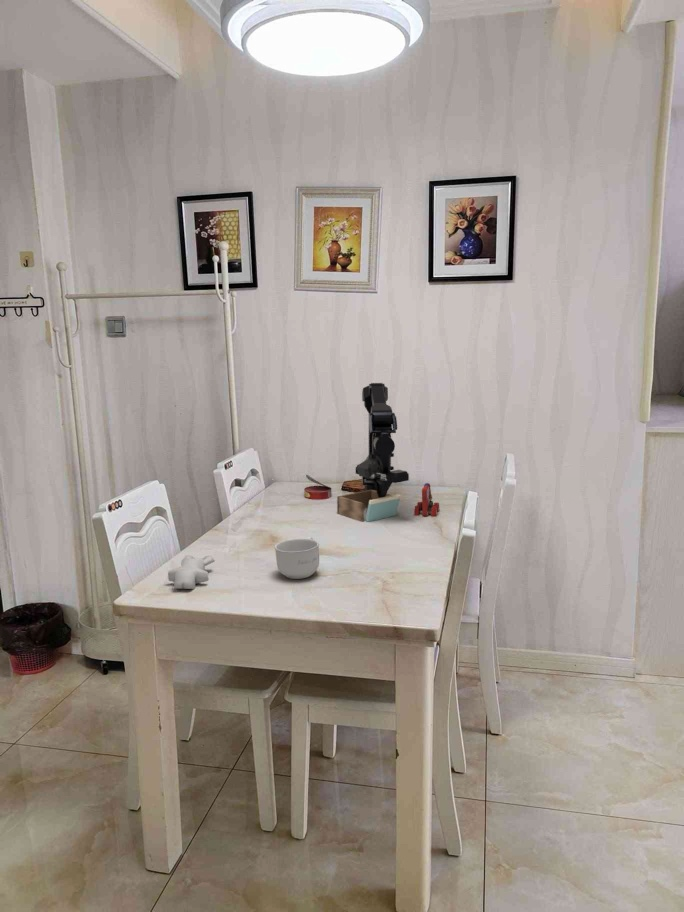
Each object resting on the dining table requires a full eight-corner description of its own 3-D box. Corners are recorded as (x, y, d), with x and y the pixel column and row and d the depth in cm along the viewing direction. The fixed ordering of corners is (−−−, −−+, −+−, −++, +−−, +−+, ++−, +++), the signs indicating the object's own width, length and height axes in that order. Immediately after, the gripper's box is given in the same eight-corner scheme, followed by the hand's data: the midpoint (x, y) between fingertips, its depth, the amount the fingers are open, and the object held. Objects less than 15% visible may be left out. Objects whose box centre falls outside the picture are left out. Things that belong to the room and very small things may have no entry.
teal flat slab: (365, 520, 208) (369, 500, 205) (394, 513, 215) (398, 494, 212) (367, 521, 207) (371, 501, 204) (396, 515, 214) (400, 495, 212)
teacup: (302, 586, 159) (302, 553, 158) (266, 577, 165) (265, 546, 163) (334, 568, 171) (334, 537, 169) (299, 561, 176) (299, 531, 175)
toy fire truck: (440, 512, 223) (440, 481, 221) (435, 522, 211) (435, 489, 209) (419, 510, 225) (419, 480, 223) (413, 520, 213) (413, 488, 211)
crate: (337, 517, 217) (337, 496, 215) (371, 510, 225) (371, 489, 224) (361, 525, 207) (361, 503, 206) (396, 517, 216) (396, 496, 215)
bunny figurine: (161, 576, 155) (180, 548, 170) (163, 595, 157) (182, 566, 171) (202, 576, 155) (217, 548, 169) (203, 596, 156) (219, 567, 171)
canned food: (307, 506, 249) (307, 480, 252) (334, 504, 247) (333, 478, 250) (300, 499, 238) (299, 472, 241) (328, 497, 236) (327, 469, 239)
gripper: (341, 449, 209) (342, 498, 212) (382, 457, 195) (382, 510, 197) (369, 445, 216) (369, 493, 219) (410, 453, 201) (409, 504, 204)
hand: (381, 499), depth 210 cm, fingers closed
